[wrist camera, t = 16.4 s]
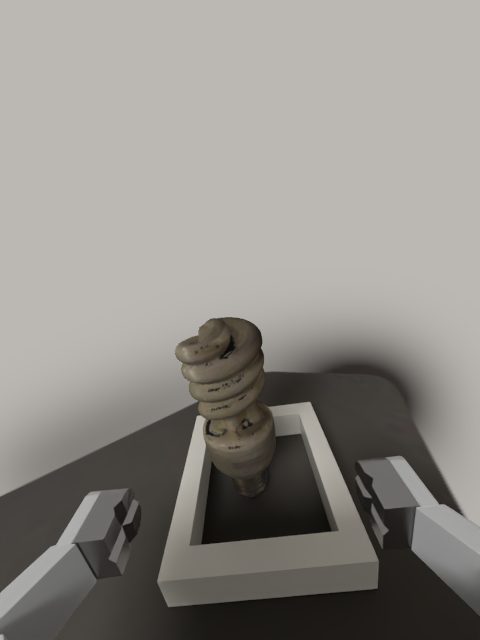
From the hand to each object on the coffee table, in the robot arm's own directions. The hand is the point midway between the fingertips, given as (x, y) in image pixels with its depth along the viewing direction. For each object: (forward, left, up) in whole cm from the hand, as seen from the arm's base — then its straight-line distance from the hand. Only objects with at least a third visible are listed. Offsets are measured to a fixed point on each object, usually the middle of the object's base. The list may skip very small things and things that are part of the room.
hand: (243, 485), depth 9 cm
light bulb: (-1, +8, -11) cm, 14 cm away
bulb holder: (0, +8, -11) cm, 14 cm away
